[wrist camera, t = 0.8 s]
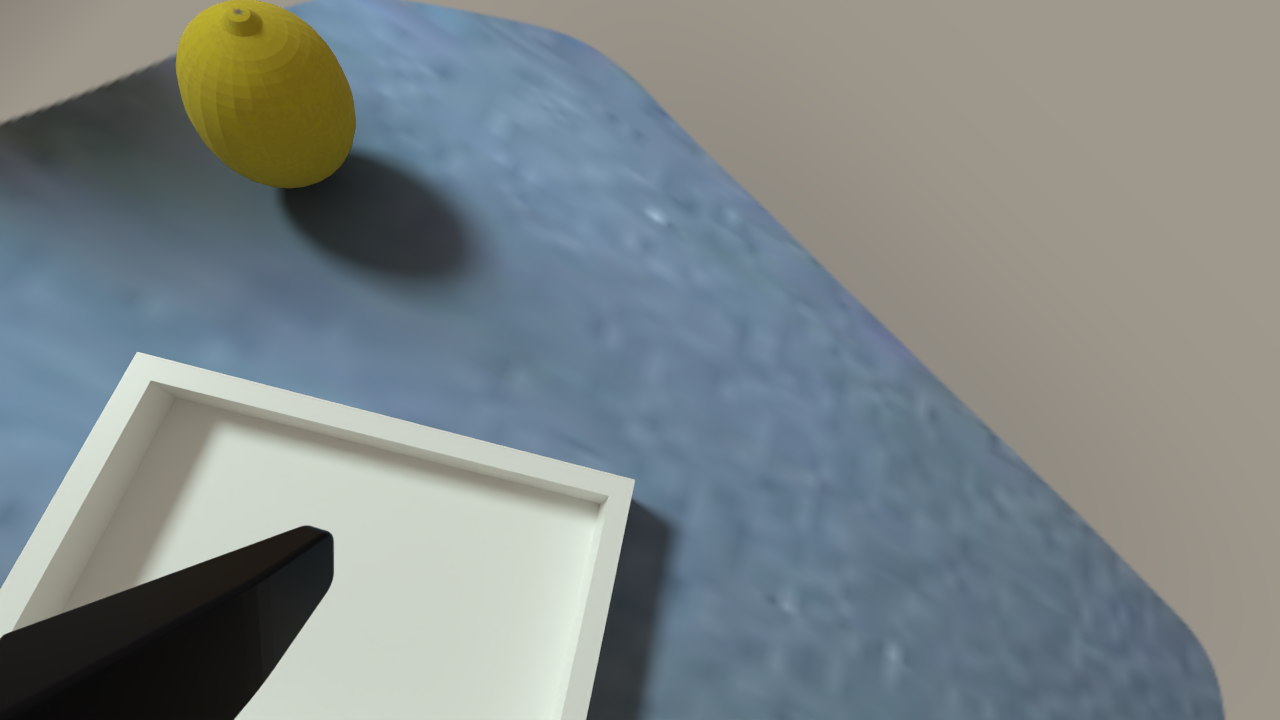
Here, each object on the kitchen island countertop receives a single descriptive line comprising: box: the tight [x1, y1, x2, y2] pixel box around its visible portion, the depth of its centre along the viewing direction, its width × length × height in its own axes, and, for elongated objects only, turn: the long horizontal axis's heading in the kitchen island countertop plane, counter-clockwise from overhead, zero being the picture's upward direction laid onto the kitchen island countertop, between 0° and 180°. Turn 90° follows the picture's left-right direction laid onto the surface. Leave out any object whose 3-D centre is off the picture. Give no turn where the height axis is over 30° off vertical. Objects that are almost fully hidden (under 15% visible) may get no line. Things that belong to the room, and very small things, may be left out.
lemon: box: [176, 0, 356, 188], centre depth 24 cm, size 6×6×8 cm
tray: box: [0, 352, 635, 720], centre depth 21 cm, size 17×12×2 cm
